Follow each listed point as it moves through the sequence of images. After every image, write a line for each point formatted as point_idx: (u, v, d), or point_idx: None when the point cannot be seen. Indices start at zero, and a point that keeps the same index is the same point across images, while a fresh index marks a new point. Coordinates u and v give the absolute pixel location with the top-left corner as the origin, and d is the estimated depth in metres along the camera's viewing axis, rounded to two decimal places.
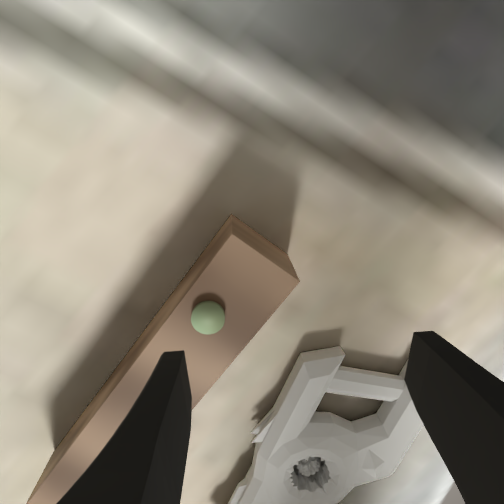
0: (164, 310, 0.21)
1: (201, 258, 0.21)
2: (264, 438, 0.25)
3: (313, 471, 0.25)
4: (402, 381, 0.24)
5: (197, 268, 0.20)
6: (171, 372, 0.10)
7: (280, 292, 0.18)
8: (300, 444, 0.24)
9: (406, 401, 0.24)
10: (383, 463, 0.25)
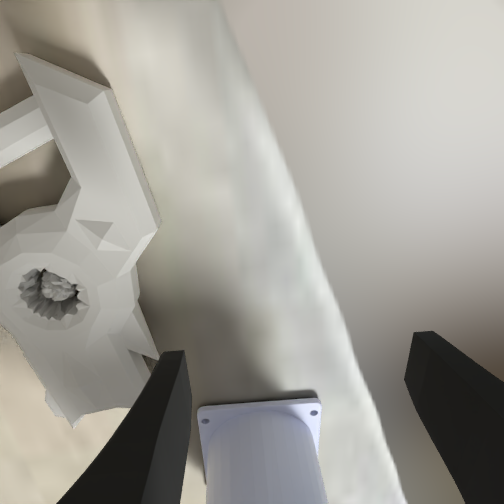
0: None
1: None
2: None
3: (57, 289, 0.18)
4: (33, 97, 0.15)
5: None
6: (171, 372, 0.10)
7: None
8: None
9: (49, 120, 0.15)
10: (114, 225, 0.16)
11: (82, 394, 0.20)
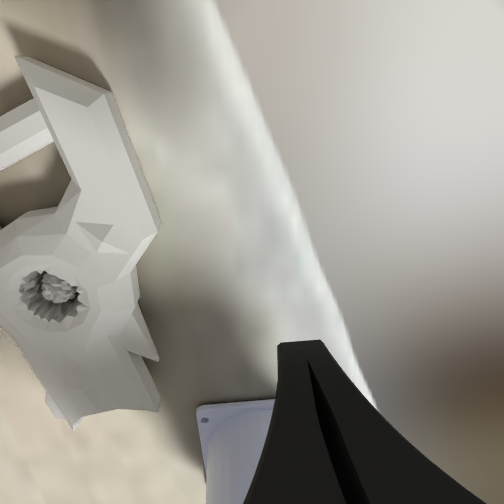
0: None
1: None
2: None
3: (57, 291, 0.18)
4: (33, 100, 0.15)
5: None
6: (300, 362, 0.11)
7: None
8: None
9: (49, 123, 0.15)
10: (114, 227, 0.16)
11: (82, 395, 0.20)
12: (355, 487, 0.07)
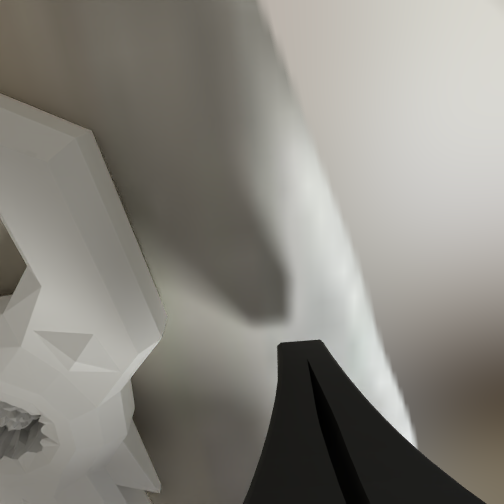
0: None
1: None
2: None
3: (12, 418, 0.12)
4: None
5: None
6: (300, 362, 0.11)
7: None
8: None
9: None
10: (95, 338, 0.11)
11: None
12: (355, 487, 0.07)
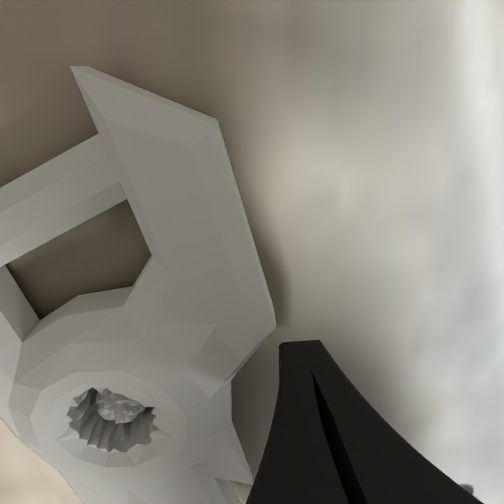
0: None
1: None
2: None
3: (122, 411, 0.12)
4: (97, 137, 0.09)
5: None
6: (301, 362, 0.11)
7: None
8: (26, 391, 0.11)
9: (125, 175, 0.09)
10: (216, 328, 0.10)
11: None
12: (353, 487, 0.07)
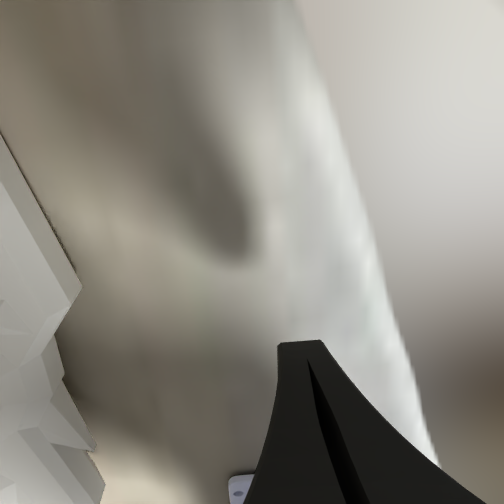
0: None
1: None
2: None
3: None
4: None
5: None
6: (300, 362, 0.11)
7: None
8: None
9: None
10: (6, 303, 0.12)
11: None
12: (355, 487, 0.07)
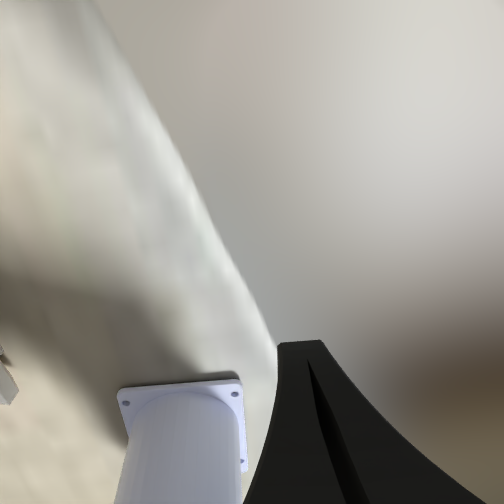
0: None
1: None
2: None
3: None
4: None
5: None
6: (300, 362, 0.11)
7: None
8: None
9: None
10: None
11: None
12: (355, 487, 0.07)
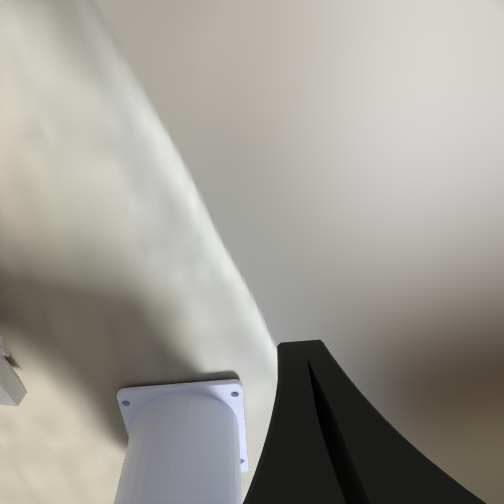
0: None
1: None
2: None
3: None
4: None
5: None
6: (300, 362, 0.11)
7: None
8: None
9: None
10: None
11: None
12: (355, 487, 0.07)
